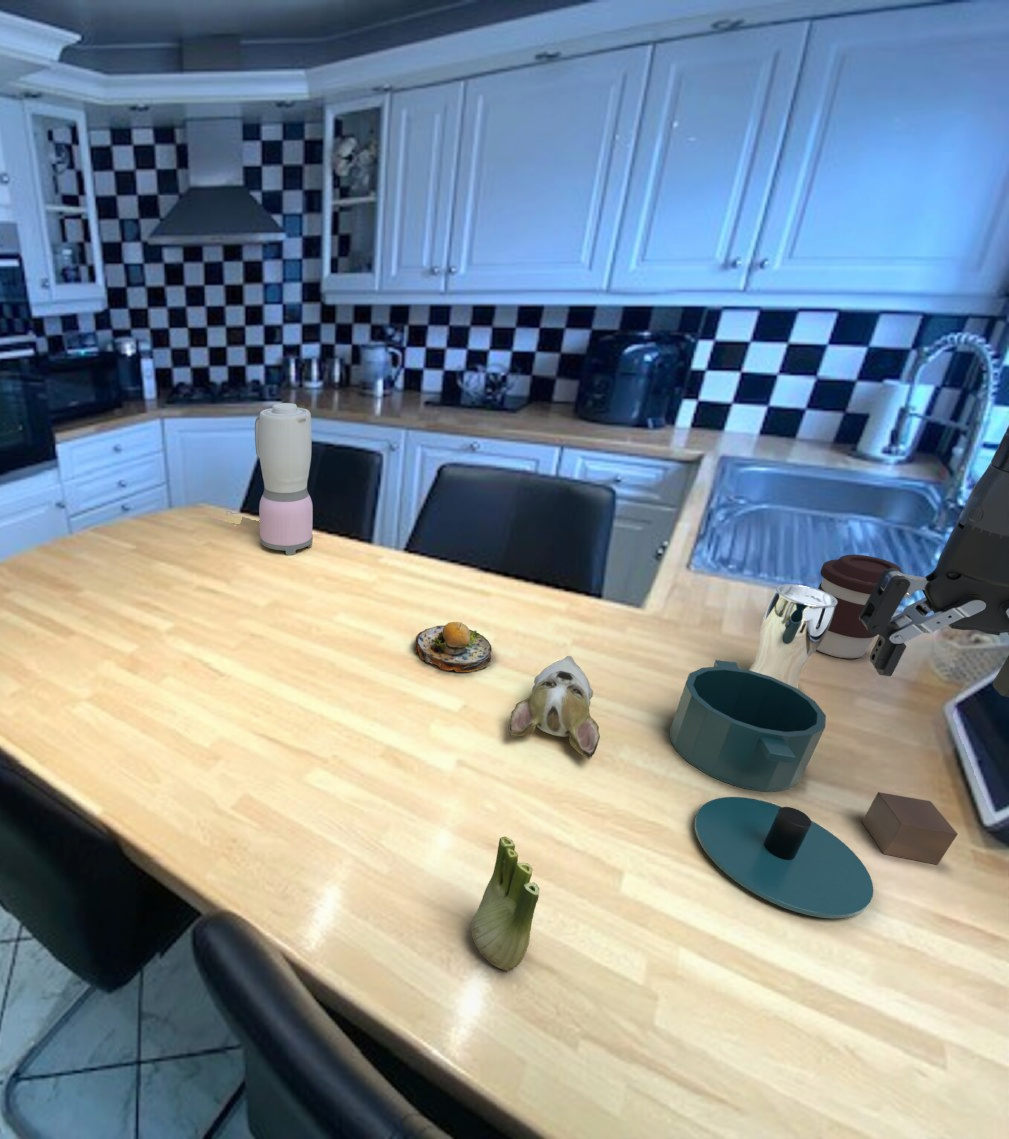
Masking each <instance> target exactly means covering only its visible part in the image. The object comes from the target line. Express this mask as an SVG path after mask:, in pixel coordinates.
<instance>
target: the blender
mask: <svg viewBox="0 0 1009 1139" xmlns="http://www.w3.org/2000/svg"><path fill="white" fill-rule="evenodd" d="M312 434H313V433H312V414H311V412H310V410H309V409H306V408H303V407H298V406H297V404H296V403H291V402H282V403H275V404H273V405H272V407H271V408H266V409H263V410H261V411H260V413H259V415H258V416H257V417H256V418H255V421H254V442H255V443H254V444H255V454H256V457H257V458H258V459H259V463H260V468H261V474H262V479H263V486H264V487H263V488H264V489H263V492H262V495H261V498H260V501H259V507H258V508H259V509H258V512H259V514H258V515H259V516H258V519H259V542H260V545H262V546H263V547H265V548H268V549H270V550H275V551H284V552H285V555H286V556H294V555H296V551H297V550H301V549H305V548H306V547H307V549H311V548H312V547H313V539H314V537H313V536H314V535H313V523H314V522H313V519H314V518H313V516H314V515H313V514H314V512H313V511H314V508H313V507H314V506H313V501H312V498H311V496H310V493H309V491H308V480H309V476H310V470H311V463H312V438H313V436H312Z"/></svg>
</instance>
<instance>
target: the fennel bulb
mask: <svg viewBox="0 0 1009 1139" xmlns="http://www.w3.org/2000/svg"><path fill="white" fill-rule="evenodd" d="M515 849H516V844H515V843H514V841H513V839H511V838H509V837H508V836H502V837H499V841H498V846H497V852H496V859H495V863H494V867H493V868H494V869H493V872H492V874H491V878H490V879H489V881H488V883H487V885H486V888H485V890H484V892H483V895H482V898H481V901H480V903H479V905H478V908H477V911H476V912H475V914H474V916H473V918H472V920H471V928H470V929H471V937H472V939H473V943H474V945H475V947H476V948H477V950H478V952H479V953H480V954H481V956H482V957H483V958H484V959H486V960H487V962H488V963H490V964H491V965H492V966H494V967H496V968H498V969H501V970H504V971H506V972H511V971H513V970H515V969H516V968H517V967H518V966H519V965H520V964H521V963H522V962H523V960H524V958H525V956H526V953H527V950H528V948H529V945H530V940H531V932H532V931H531V930H532V926H533V925H532V924H533V918H534V914H535V909H536V906H537V904H538V901H539V897H540V887H539V886H538V884H537V883H536V882H535V881H534V882H532V881H531V878H532V876H533V867H532V866H531V865H530V864H529V863H528V862H523V861H522V862H519V854H518V852H517V851H516V850H515Z"/></svg>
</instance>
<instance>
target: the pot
mask: <svg viewBox="0 0 1009 1139" xmlns="http://www.w3.org/2000/svg"><path fill="white" fill-rule="evenodd" d="M826 720H827V715H826V713H825V712H824V710H823V709H822V708H821V707H820V706H819V704H818V703H817V701H815V700H814V699H813V698H811V697H810V696H808V695H807V694H805V693H804V692H803V691H801V690H799V688H798V689H797V688H795V687H793V686H790V685H788V684H786V683H784V682H782V681H779V680H777V679H775V678H773V677H770V676H767V675H763V674H760V673H757V672H753V671H750V670H749V669H745V668H740V667H739V665H738V664H737V662H735V661H727V660H720V659H715V660H714V663H713V666H705V667H700V668H698V669H696V670H694V671H692V672H690V673H688V676H687V679H686V681H685V684H684V687H683V690H682V693H681V696H680V699H679V702H678V705H677V708H676V711H675V714H674V717H673V720H672V723H671V726H670V730H669V739H670V741H671V743H672V746H673V748H674V749H675V751H676V752H677V753H678V754H679V755H680V756H681V757H682V758H683V759H684V760H685V761H686V762H687V763H689V764H690V765H692V766H693V767H694V768H696V769H697V770H699V771H700V772H702V773H704V774H705V775H708V776H709V777H712V778H714V779H716V780H717V781H720V782H723V783H725V784H728V785H731V786H734V787H737V788H741V789H746V790H750V791H756V792H767V793H769V792H770V793H771V792H774V793H775V792H782V791H786V790H789V789H791V788H793V787H794V786H795V785H797V784H798V783H799V781H800V780H802V778H803V776H804V774H805V771H806V770H807V767H808V765H809V763H810V761H811V759H812V757H813V754H814V752H815V750H816V747H817V746H818V743H819V741H820V739H821V737H822V735H823V733H824V731H825V729H826Z"/></svg>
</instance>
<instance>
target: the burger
mask: <svg viewBox="0 0 1009 1139" xmlns="http://www.w3.org/2000/svg"><path fill="white" fill-rule="evenodd" d="M492 650H493V648H492V644H491V643H490V642H489V639H488V638H486V637H485V636H484V635H483V634H480V633H479V632H478V631H477V630H471V629H469V627H468V626H467V625H466V624H465V623H463V622H461V621H451V622H448V623H446V624H445V625H436V626H432V627H429V628H425V629H423V630H422V631H420V632H419V633H417V635H416V637H415V645H414V651H415V653H416V654H418V655H419V658H420V659H421V661H424V662H425V663H430V664H432V665H435V666H437V667H438V668H439V669H440V670H444V671H449V672H450V671H452V670H454V671H455V673H468V672H476V671H478V670H481V669H484V668H485V667H487V666H488V664H489V663H491V660H492Z"/></svg>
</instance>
